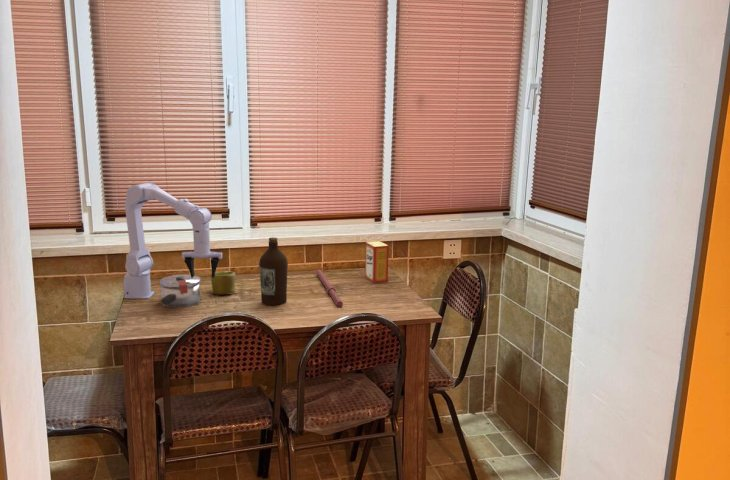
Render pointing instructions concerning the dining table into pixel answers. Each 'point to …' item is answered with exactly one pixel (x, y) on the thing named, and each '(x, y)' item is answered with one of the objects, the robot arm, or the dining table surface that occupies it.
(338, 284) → the dining table surface
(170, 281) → the cooker lid
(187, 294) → the silver pot
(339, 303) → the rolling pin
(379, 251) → the baking soda box
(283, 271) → the olive oil
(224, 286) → the mug
